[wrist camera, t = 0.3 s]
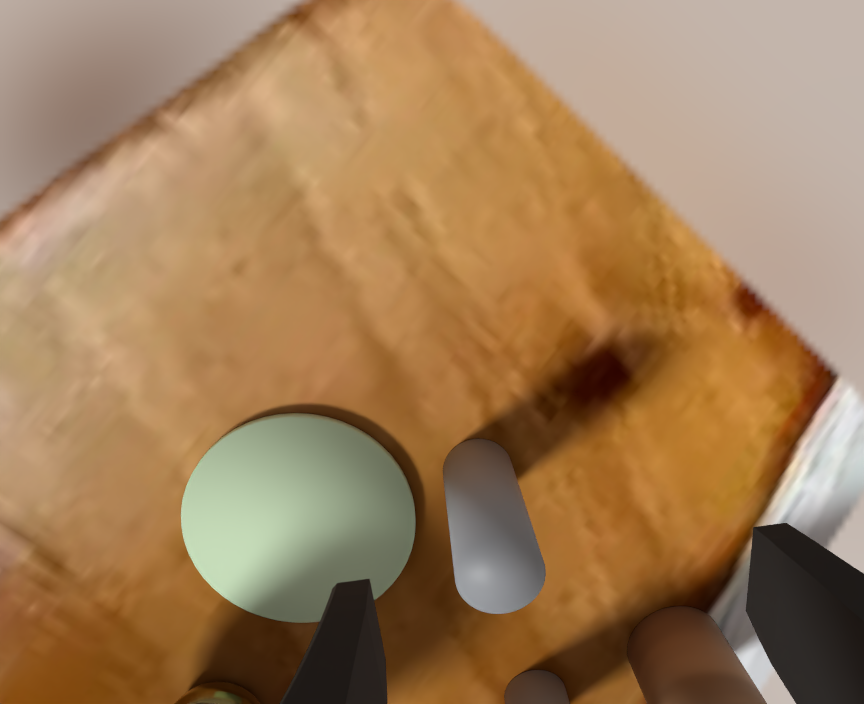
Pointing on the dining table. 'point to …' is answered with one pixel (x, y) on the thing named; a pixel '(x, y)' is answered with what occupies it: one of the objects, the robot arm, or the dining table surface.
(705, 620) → the dowel
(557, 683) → the post
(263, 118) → the dining table surface
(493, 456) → the post
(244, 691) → the cup
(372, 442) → the coaster
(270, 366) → the dining table surface
